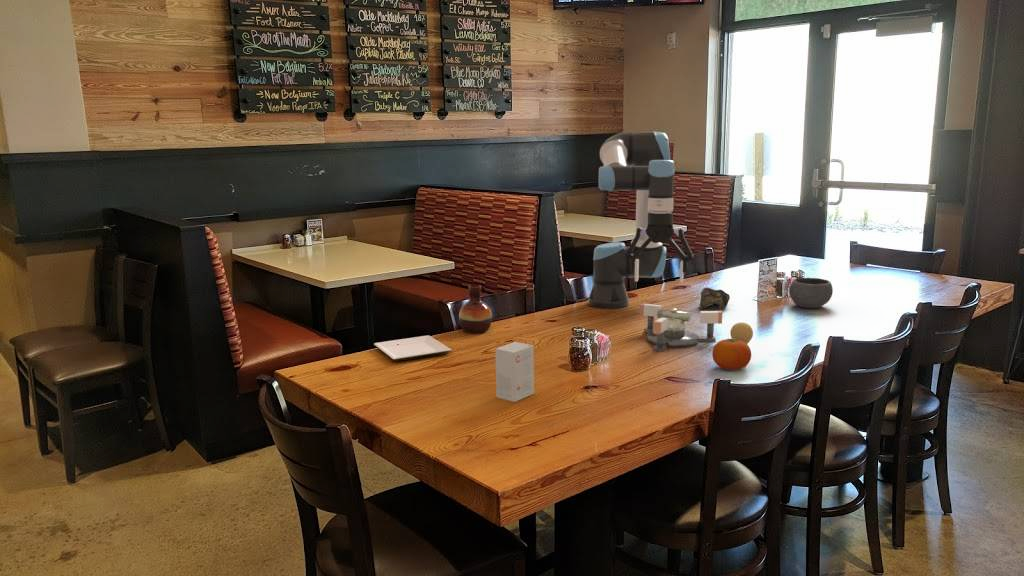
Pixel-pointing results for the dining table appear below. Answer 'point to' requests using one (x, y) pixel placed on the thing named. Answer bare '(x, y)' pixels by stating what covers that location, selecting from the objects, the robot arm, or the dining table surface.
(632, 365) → the dining table surface
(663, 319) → the knob
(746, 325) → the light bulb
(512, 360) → the small box
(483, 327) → the vase
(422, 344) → the plate
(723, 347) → the fruit
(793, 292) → the bowl
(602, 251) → the robot arm
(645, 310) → the knob
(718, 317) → the knob
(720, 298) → the fossil
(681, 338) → the tribrach
